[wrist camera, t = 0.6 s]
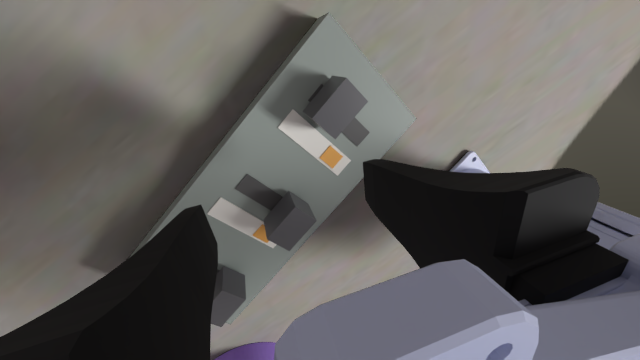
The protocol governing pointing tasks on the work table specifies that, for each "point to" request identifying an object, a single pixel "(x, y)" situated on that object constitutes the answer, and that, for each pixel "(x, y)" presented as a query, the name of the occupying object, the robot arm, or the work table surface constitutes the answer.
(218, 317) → the block
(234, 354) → the masking tape
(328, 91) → the slider front
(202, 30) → the work table surface
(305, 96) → the switch panel
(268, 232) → the slider middle
